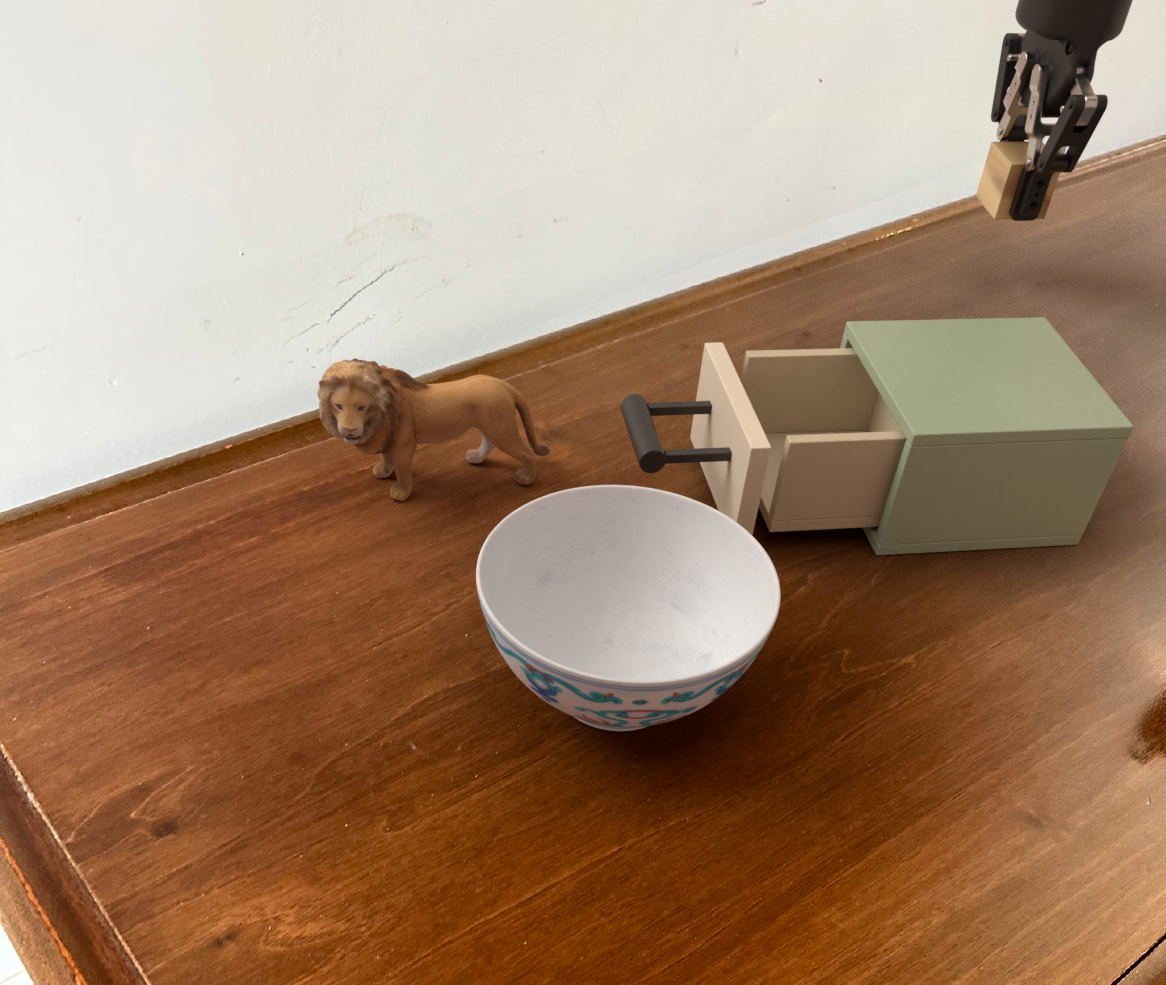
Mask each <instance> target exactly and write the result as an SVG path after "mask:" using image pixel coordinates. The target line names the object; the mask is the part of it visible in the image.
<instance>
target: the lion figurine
mask: <svg viewBox="0 0 1166 985" xmlns="http://www.w3.org/2000/svg"><path fill="white" fill-rule="evenodd" d="M317 397H318V400H319V403H318V409H319V419H320V421H321V423H322V426H323V427H324V429H325V430H326V431H327V433H328V434H330V435H331V436H333V437H334V438H335V439H338V440H339V441H341V442H344V443H345V444H347V445H350V446H354V447H356V448H357V449H358V451H359V452H360V453H362V454H364V455H378V454H379V456H380V461H379V462H378V463H377V464H375V465H374V466H373V469H372V474H373V475H374V477H375V478H377V479H385V478H388V477H390V476H391V475H392V473H393V471H394V473H395V475H396V484H394V485H392V486H391V487H390V489H389V497H390V498H392V499H393V500H394V501H399V502H404V501H406V500H407V499H409V497H410V495H411V494H412V490H413V482H414V480H413V477H412V466H413V460H414V456H415V454H416V452H417V447H418V445H428V444H441V443H446V442H449V441H452V440H454V439H457V438H459V437H461V436H462V435H464V434H465V433H467V432H468V431H470V430H471V429H472V428H475V429H478V431H479V433H480V436H481V443H480V446H479V447H478V448H470V449H468V450H467V451H466V453H465V461H467V462H468V463H470V464H481V463H483V461H485V460H486V459H487V457H488V456H489V455H490V454H491V453H492V451H494V449H495V448H496V449H497V450H499V451H500V452H502V453H504V454H506V455H508V456H509V457H511V458H513V459H514V460H517V461H519V462H520V463H521V464H522V466H523V468H521V469H518V470H517V471H515V474H514V480H515V481H516V482H517V483H518V484H520V485H522V486H529V485H531V484H533V482H534V481H535V480H536V476H537V464H536V456H539V457H544V458H545V457H546V456H547V455H550V453H551V450H550V449H549V447H548V446H546V445H543V444H539V443H538V442H537V437H536V436H537V435H536V431H535V426H534V420H533V417H532V413H531V410H530V407H529V406H528V403H527V402H526V400H525V398H524V396H523V394H522V393H521V392H520V391H519V390H517V389H516V388H515V387H514V386H513V385H512V384H510V383H509V382H507V381H505V380H503V379H501V378H498V377H495V376H491V375H487V374H482V373H481V374H474V375H470V376H467V377H464V378H461V379H457V380H452V381H446V382H438V383H423V382H420V381H418V380H416V379H414V378H413V376H411V375H410V374H409V373H407V372H405V371H404V370H402V369H398V368H396V369H395V368H393V367H387V365H385V364H381V365H379V363H378V362H376V360H372V361H370V360H365V359H358V358H356V357H355V358H352V359H351V360H349V359H342V360H341V361H338V362H337V361H336V362H333V363H332V364H331V365H330V366H329V367H327V369H326V370H325V372H324V374H322V377H321V379H320V380H318V389H317ZM516 410H517V411H516ZM517 412H518V415H519V417H520V420H521V422H522V426H523V429H524V432H525V435H526V439H527V442H528V443H526V442H525V441H524V439H523V437H522V435H521V434H520V432H519V428H518V423H517ZM535 455H536V456H535Z"/></svg>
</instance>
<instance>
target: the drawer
mask: <svg viewBox="0 0 1166 985" xmlns="http://www.w3.org/2000/svg"><path fill="white" fill-rule="evenodd" d="M701 358H702V360H701V366H700V371H699V379H698V384H697V390H696V398H695V400H691V401H689V400H686V401H658V402H657V401H655V402H646V399H645V397H643V395H641V394H637V393H632V394H628V395H626V396H625V397H624V398H623V399H622V401H621V403H620V412H621V414H622V417H623V421H624V423H625V427H626V429H627V430H626V431H627V432H628V436H629V439H630V442H631V445H632V448H633V451H634V454H635V457H636V460H637V463H638V467H639V469H640V470H641V471H642V472H644V473H646V474H656V473H657V472H659V471H662V469H664V467H665V465H666V464H668V465H669V464H687V463H688V464H689V463H690V464H693V463H699V465H700V466H701V469H702V472H703V474H704V477H705V479H706V482H707V485H708V487H709V490H710V492H711V495H712V498H713V500H714V503H715V505H716V507H717V510H718V511H719V512H721V513H723V514H725V515H726V516H728V517H729V518H731V519H732V520H734V521H735V522H737V523H738V524H739V525H741V526H742V527H743V528H744V529H746V530H747V531H748V532H749V533H750V534H751V535H752V536H753V534H754V531H755V530H754V529H755V525H756V521H757V517H758V516H757V515H758V511H760V513H761V516H762V518H763V520H764V522H765V525H766V527H767V529H768V532H769V533H776V532H777V533H778V532H780V533H781V532H798V531H818V530H821V531H822V530H837V529H838V530H839V529H840V530H841V529H859V528H862V527H879V525H880V522H881V518H882V515H883V512H884V509H885V506H886V502H887V499H888V496H889V493H890V490H891V487H892V483H893V480H894V477H895V474H896V471H897V467H898V464H899V461H900V458H901V455H902V452H903V448H904V445H905V442H906V440H907V439H906V437H905V435H904V433H903V432H902V430H901V428H900V427H899V425H898V423H897V422H896V420H895V418H894V417H893V415H892V413H891V411H890V410H889V408H888V406H887V405H886V403H885V401H884V400H883V398H882V396H881V395H880V393H879V391H878V389H877V388H876V386H875V384H874V383H873V381H872V379H871V378H870V376H869V374H868V373H867V371H866V369H865V367H864V366H863V364H862V362H861V361H860V359H859V357H858V356H857V354H856V352H855V351H854V349H853V348H840V347H839V348H838V347H837V348H810V349H809V348H801V349H797V348H796V349H762V350H761V349H759V350H757V349H755V350H745V353H744V359H743V364H742V370H741V375H740V376H739V374H738V372H737V370H736V368H735V366H734V363H733V360H732V359H731V357H730V354H729V353H728V350H727V348H726V345H725V344H724V342H705V343H704V347H703V352H702V357H701ZM689 415H691V416H692V415H693V416H692V424H691V430H690V440H691V441H690V442H691V444H692V446H693V448H677V449H673V448H672V449H664V448H663V446H662V443H661V440H660V437H659V434H658V432H657V428H656V426H655V423H654V420H653V417H658V416H659V417H660V416H661V417H662V416H663V417H664V416H689Z"/></svg>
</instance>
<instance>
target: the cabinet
mask: <svg viewBox="0 0 1166 985" xmlns="http://www.w3.org/2000/svg"><path fill="white" fill-rule="evenodd" d="M839 348H853V349H854V351H855V352H856V354H857V356H858V357H859V359H860V361H861V362H862V364H863V366H864V367H865V369H866V371H867V373H868V374H869V376H870V378H871V379H872V381H873V383H874V384H875V386H876V388H877V389H878V391H879V393H880V395H881V396H882V398H883V400H884V401H885V403H886V405H887V406H888V408H889V410H890V411H891V413H892V415H893V417H894V418H895V420H896V422H897V423H898V425H899V427H900V428H901V430H902V432H903V433H904V435H905V437H906V439H907V440H906V442H905V445H904V448H903V452H902V455H901V458H900V461H899V464H898V467H897V471H896V474H895V477H894V480H893V483H892V487H891V490H890V493H889V496H888V499H887V502H886V506H885V509H884V512H883V515H882V518H881V522H880V525H879V527H862V531H863V532H864V535H865V537H866V538H867V541H868V542H869V544H870V546H871V549H872V550H873V553H874V554H875V556H890V555H910V554H925V553H926V554H929V553H946V552H947V553H948V552H950V553H951V552H964V551H965V552H969V551H983V550H1001V549H1003V550H1005V549H1020V548H1022V549H1024V548H1039V547H1057V546H1058V547H1059V546H1076V545H1077V546H1078V545H1079V543H1080V541H1081V539H1082V537H1083V534H1084V533H1085V530H1086V529H1087V527H1088V524H1089V522H1090V520H1091V518H1092V516H1093V514H1094V512H1095V510H1096V508H1097V505H1098V503H1099V501H1100V499H1101V497H1102V495H1103V493H1104V491H1105V489H1106V486H1107V484H1108V483H1109V480H1110V478H1111V476H1112V474H1113V472H1114V469H1115V468H1116V465H1117V463H1118V461H1119V459H1120V457H1121V455H1122V453H1123V451H1124V449H1125V447H1126V445H1127V442H1128V441H1129V438H1130V436H1131V433H1132V432H1133V430H1134V425H1133V423H1132V422H1131V421H1130V420H1129V419H1128V418H1127V416H1126V414H1124V413H1123V412H1122V410H1121V408H1120V407H1119V406H1118V405H1117V404H1116V403H1115V401H1114V400H1113V398H1111V396H1110V395H1109V393H1107V391H1105V389H1104V388H1103V387H1102V385H1101V384H1100V383H1099V382H1098V381H1097V379H1096V378H1095V377H1094V376H1093V375H1092V373H1091V372H1090V371H1089V369H1088V368H1087V366H1085V365H1084V363H1083V362H1082V361H1081V360H1080V358H1079V357H1078V356H1077V355H1076V353H1075V352H1074V351H1073V350H1072V348H1071V347H1070V346H1069V345H1068V344H1067V342H1066V341H1065V340H1064V339H1063V337H1062V336H1061V335H1060V334H1059V332H1058V331H1057V330H1056V329H1055V328H1054V326H1053V325H1052V324H1051V323H1050V321H1049V320H1048V319H1047V318H1046V317H1044V316H1040V317H1039V316H1037V317H1001V318H1000V317H998V318H997V317H995V318H992V317H991V318H988V317H987V318H947V319H946V318H945V319H944V318H942V319H900V320H899V319H898V320H897V319H896V320H849V321H846V322H845V326H844V331H843V335H842V337H841V342H840V347H839Z"/></svg>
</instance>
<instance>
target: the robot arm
mask: <svg viewBox="0 0 1166 985" xmlns="http://www.w3.org/2000/svg"><path fill="white" fill-rule="evenodd" d="M1133 1H1134V0H1018V2H1017V5H1016V8H1015V13H1014V15H1015V20H1016V22H1017V23H1018V25H1019V26H1020V27H1021V28H1022V29H1024V31H1025V32H1021V33H1020V32H1006V34H1004V36H1003V39H1002V44H1001V50H1000V56H999V63H998V67H997V74H996V75H997V76H996V82H995V88H994V93H993V100H992V105H991V111H990V112H991V113H990V120H991V123H997V124H998V126H997V130H996V139H997V141H999V142H1025V141H1029V143H1028V148H1027V154H1026V159H1025V168H1023V169H1022V172H1021V175H1020V178H1019V181H1018V185H1017V188H1016V191H1015V194H1014V197H1013V200H1012V204H1011V207H1010V210H1009V215H1010V216H1011V218H1012V220H1013V221H1015V222H1029V221H1030V222H1032V221H1035V220H1037V219H1036V218H1037V217H1038V215H1039V213H1040V210H1041V207H1042V204H1043V201H1044V198H1045V195H1046V192H1047V189H1048V186H1049V183H1050V180H1051V177H1052V175H1053V174H1054V173H1055V172H1060V173H1064V174H1069V173H1073V171H1074V170H1075V168H1076V166H1077V164H1078V162H1079V161H1080V158H1081V157H1082V154H1083V153H1084V150H1086V147H1087V146H1088V143H1089V142H1090V140H1091V138H1092V136H1093V134H1094V133H1095V131H1096V129H1097V127H1098V125H1099V123H1100V121H1101V120H1102V118H1103V116H1104V114H1105V112H1106V110H1107V108H1108V103H1109V101H1108V100H1109V99H1108V96H1107V95H1106V94H1096V93H1095V92H1094V90H1093V89H1094V88H1092V85H1091V83H1092V81H1093V78H1094V75H1095V66H1096V60H1097V55H1098V50H1100V48H1101V47H1102V46H1103V45H1105V44H1106V43H1108V42H1109V41H1113V40H1114V39H1116V38H1118V36H1120V34H1121V33H1122V32H1123V30H1124V27H1125V24H1126V21H1127V19H1128V15H1129V12H1130V9H1131V8H1132V4H1133ZM1049 118H1051V119H1057V121H1056V122H1055V123H1053V122H1052V123H1050V122H1049V123H1043V122H1042V119H1049ZM1046 137H1048V138H1047V141H1046V142H1045V143H1044V144H1045V146H1044V148H1043V150H1042V152H1041V153H1040V151H1041V146H1042V142H1043V140H1044V138H1046ZM1067 147H1068V148H1067ZM1066 149H1067V150H1066Z"/></svg>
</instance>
